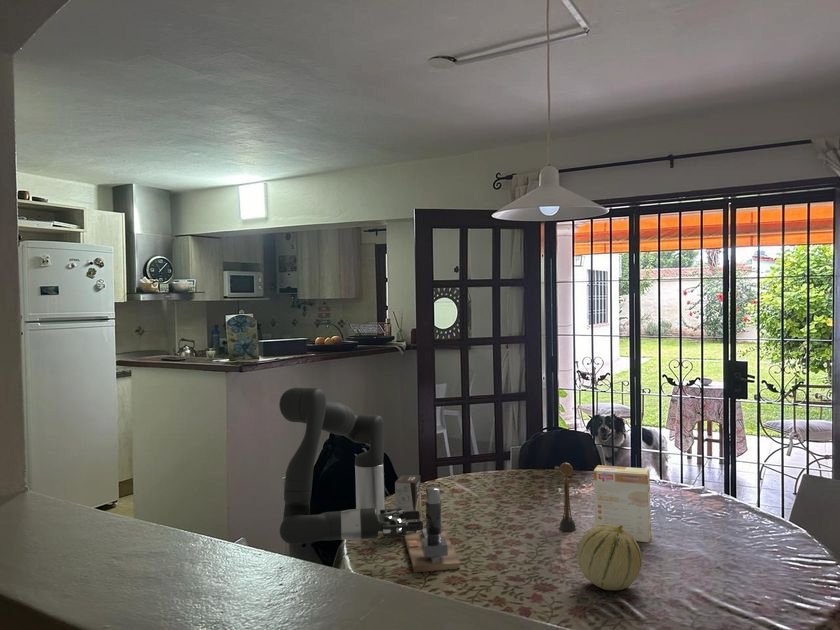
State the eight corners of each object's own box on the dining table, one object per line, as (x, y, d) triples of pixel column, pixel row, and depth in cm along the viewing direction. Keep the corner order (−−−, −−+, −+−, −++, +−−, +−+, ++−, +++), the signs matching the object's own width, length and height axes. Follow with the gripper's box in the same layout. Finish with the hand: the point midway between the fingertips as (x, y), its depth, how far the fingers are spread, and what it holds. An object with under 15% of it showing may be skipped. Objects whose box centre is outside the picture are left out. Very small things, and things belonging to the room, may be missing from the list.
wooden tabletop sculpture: (554, 529, 188) (552, 463, 188) (558, 524, 192) (556, 459, 192) (573, 532, 185) (572, 465, 185) (577, 527, 189) (575, 461, 189)
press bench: (404, 538, 183) (404, 528, 183) (444, 535, 185) (444, 525, 185) (414, 572, 160) (413, 560, 160) (460, 568, 161) (459, 557, 161)
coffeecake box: (651, 535, 181) (650, 468, 181) (649, 543, 175) (647, 474, 175) (598, 528, 188) (597, 464, 188) (594, 536, 181) (593, 469, 181)
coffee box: (416, 537, 184) (415, 482, 184) (395, 536, 186) (393, 482, 186) (422, 526, 193) (421, 474, 193) (402, 525, 195) (401, 474, 195)
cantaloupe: (569, 576, 155) (568, 515, 155) (626, 572, 156) (625, 512, 156) (590, 603, 140) (589, 537, 140) (653, 599, 142) (652, 533, 141)
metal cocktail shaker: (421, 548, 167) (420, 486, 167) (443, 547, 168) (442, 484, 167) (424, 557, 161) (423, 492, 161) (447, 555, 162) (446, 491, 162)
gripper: (359, 518, 155) (423, 514, 157) (358, 501, 169) (417, 497, 171) (360, 548, 155) (424, 544, 157) (358, 528, 169) (418, 524, 171)
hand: (420, 519), depth 164 cm, fingers open, 8 cm apart
